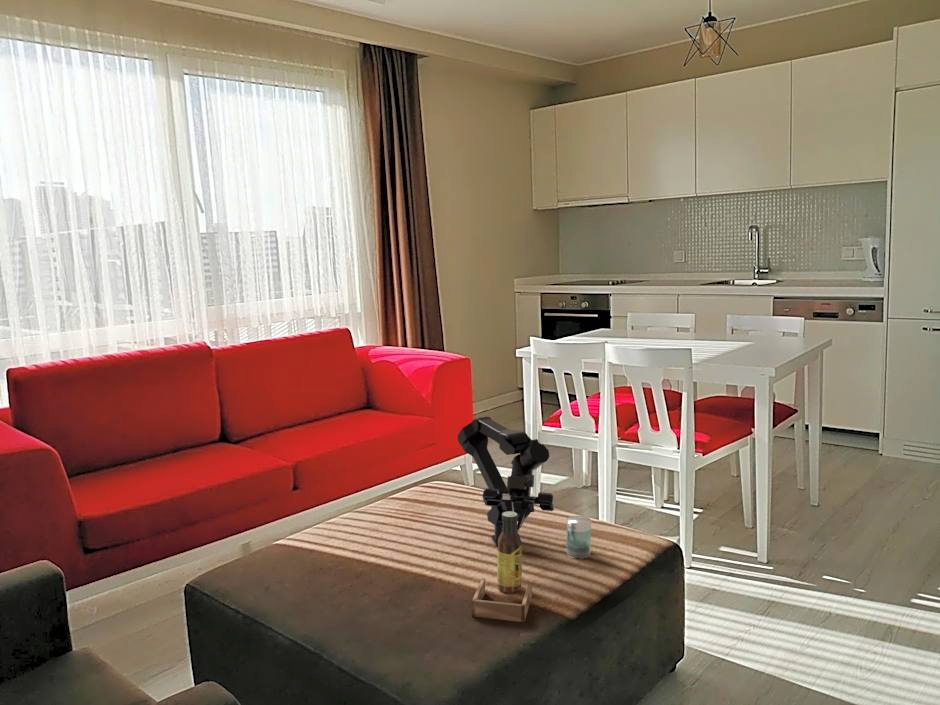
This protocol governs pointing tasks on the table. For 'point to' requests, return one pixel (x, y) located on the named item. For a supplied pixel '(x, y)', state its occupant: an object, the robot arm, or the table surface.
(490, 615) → the crate
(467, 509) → the table surface
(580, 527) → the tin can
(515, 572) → the sauce bottle
